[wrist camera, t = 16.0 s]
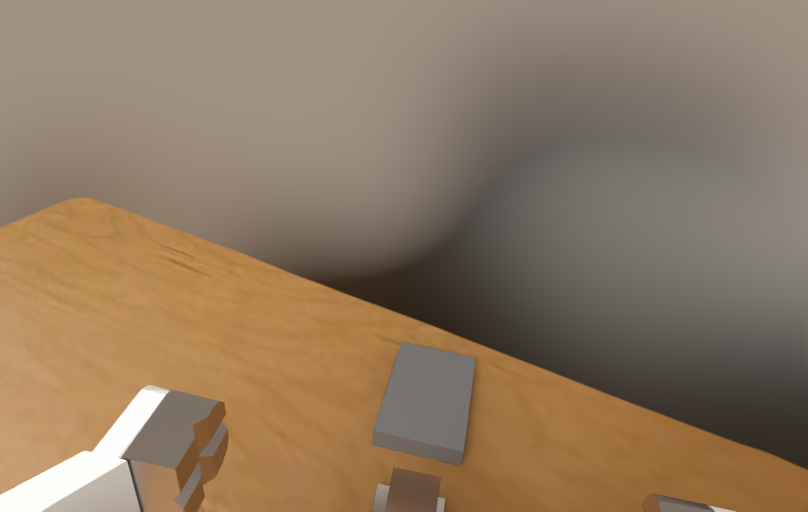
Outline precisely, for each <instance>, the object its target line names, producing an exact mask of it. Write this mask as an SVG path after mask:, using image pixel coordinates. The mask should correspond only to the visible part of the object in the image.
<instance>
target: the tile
mask: <svg viewBox="0 0 808 512" xmlns="http://www.w3.org/2000/svg"><path fill="white" fill-rule="evenodd" d="M475 361H476V358H475V357H470V356H465V355H461V354H456V353H451V352H447V351H442V350H437V349H433V348H428V347H423V346H419V345H414V344H409V343H405V342H401V344H400V347H399V351H398V354H397V357H396V360H395V364H394V367H393V370H392V373H391V377H390V380H389V383H388V386H387V390H386V393H385V396H384V399H383V403H382V406H381V409H380V412H379V416H378V419H377V422H376V425H375V429H374V434H373V443H372V445H375V446H379V447H383V448H387V449H391V450H396V451H400V452H404V453H408V454H412V455H416V456H421V457H425V458H429V459H433V460H437V461H441V462H446V463H450V464H454V465H458V466H460V465H461V461H462V457H463V453H464V446H465V439H466V431H467V423H468V415H469V407H470V400H471V392H472V384H473V376H474V369H475Z"/></svg>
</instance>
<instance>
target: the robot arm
mask: <svg viewBox="0 0 808 512" xmlns="http://www.w3.org/2000/svg"><path fill="white" fill-rule="evenodd" d="M225 415H226V410H225V403H224V402H221V401H217V400H213V399H208V398H204V397H200V396H196V395H192V394H188V393H184V392H180V391H175V390H171V389H167V388H162V387H158V386H153V385H148V386H146V387H145V388H143V389H142V390H140V392H139V393H138V394H137V395H136V397H135V398H134V399H133V400H132V402H131V403H130V404H129V406H128V407H127V408H126V409H125V411H124V412H123V413H122V414H121V416H120V417H119V418H118V419H117V421H116V422H115V423H114V425H113V426H112V427H111V428H110V430H109V431H108V432H107V433H106V435H105V436H104V437H103V438H102V440H101V441H100V442H99V444H98V445H97V446H96V447H95V449H94V450H93V451H92V452H90V451H85V450H84V451H82V452H81V453H79V454H77V455H75V456H73V457H71V458H69V459H67V460H65V461H64V462H62V463H60V464H58V465H56V466H54V467H52V468H50V469H48V470H47V471H45V472H43V473H41V474H39V475H37V476H35V477H33V478H31V479H30V480H28V481H26V482H24V483H22V484H20V485H18V486H16V487H14V488H13V489H11V490H9V491H7V492H5V493H3V494H1V495H0V512H197V511H198V509H199V507H200V505H201V503H202V501H203V499H204V498H205V497H204V490H203V485H204V484H205V483H207V482H208V481H210V480H211V479H213V478H214V477H216V475H217V473H218V471H219V469H220V467H221V465H222V463H223V460H224V457H225V454H226V451H227V446H228V429H227V428H226V427H225V425H224V424H223V423H222V420H223V419H224V417H225ZM642 508H643V512H736V511H732V510H727V509H722V508H718V507H713V506H707V505H706V504H702V503H697V502H692V501H687V500H682V499H677V498H672V497H667V496H662V495H657V494H650V495H648V496H647V497H646V498H645V500H644V502H643V503H642Z"/></svg>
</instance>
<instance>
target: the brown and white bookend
mask: <svg viewBox="0 0 808 512" xmlns="http://www.w3.org/2000/svg"><path fill="white" fill-rule="evenodd" d="M440 479H441V477H437V476H432V475H427V474H423V473H418V472H413V471H409V470H404V469H399V468H395V467H394V468H393V473H392V478H391V483H390V486H386V485H382V484H378V486H377V491H376V495H375V499H374V504H373V508H372V512H444V505H445V498H442V497H438V495H439V487H440Z"/></svg>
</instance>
